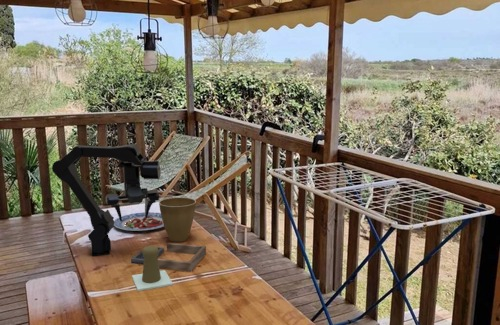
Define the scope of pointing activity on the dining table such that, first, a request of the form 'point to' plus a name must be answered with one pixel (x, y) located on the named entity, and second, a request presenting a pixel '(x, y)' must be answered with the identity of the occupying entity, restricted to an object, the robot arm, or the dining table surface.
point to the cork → (151, 265)
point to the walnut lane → (183, 265)
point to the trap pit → (140, 259)
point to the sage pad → (145, 286)
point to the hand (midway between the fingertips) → (133, 219)
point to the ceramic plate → (140, 222)
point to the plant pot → (177, 217)
